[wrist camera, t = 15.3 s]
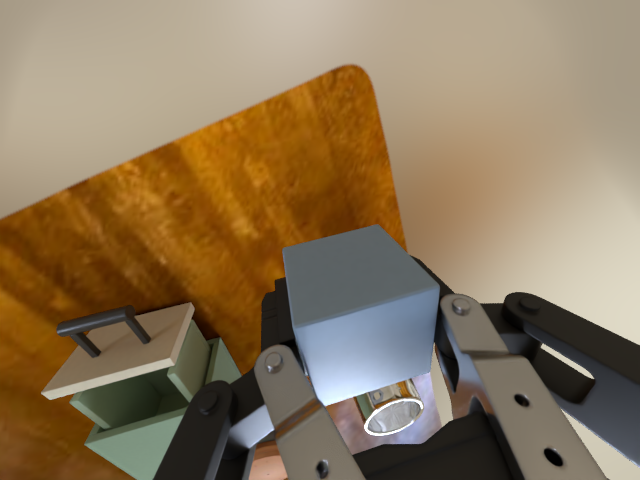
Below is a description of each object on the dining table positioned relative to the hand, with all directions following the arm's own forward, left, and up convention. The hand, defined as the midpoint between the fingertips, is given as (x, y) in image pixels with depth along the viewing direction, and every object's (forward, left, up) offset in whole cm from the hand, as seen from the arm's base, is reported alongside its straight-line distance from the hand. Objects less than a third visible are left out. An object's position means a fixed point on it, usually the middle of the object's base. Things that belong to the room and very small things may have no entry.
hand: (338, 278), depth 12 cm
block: (0, 0, 0) cm, 0 cm away
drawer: (-3, -27, -16) cm, 32 cm away
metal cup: (+18, -12, -17) cm, 28 cm away
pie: (+27, -50, -17) cm, 59 cm away
